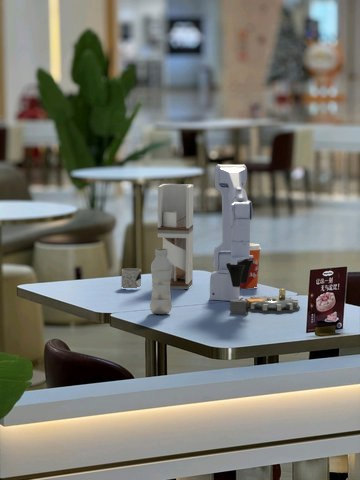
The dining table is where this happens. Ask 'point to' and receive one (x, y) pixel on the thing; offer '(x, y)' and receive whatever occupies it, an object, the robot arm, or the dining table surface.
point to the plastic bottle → (161, 282)
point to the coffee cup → (253, 267)
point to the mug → (131, 278)
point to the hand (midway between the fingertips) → (239, 284)
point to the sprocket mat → (274, 310)
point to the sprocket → (273, 302)
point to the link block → (239, 307)
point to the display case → (177, 230)
